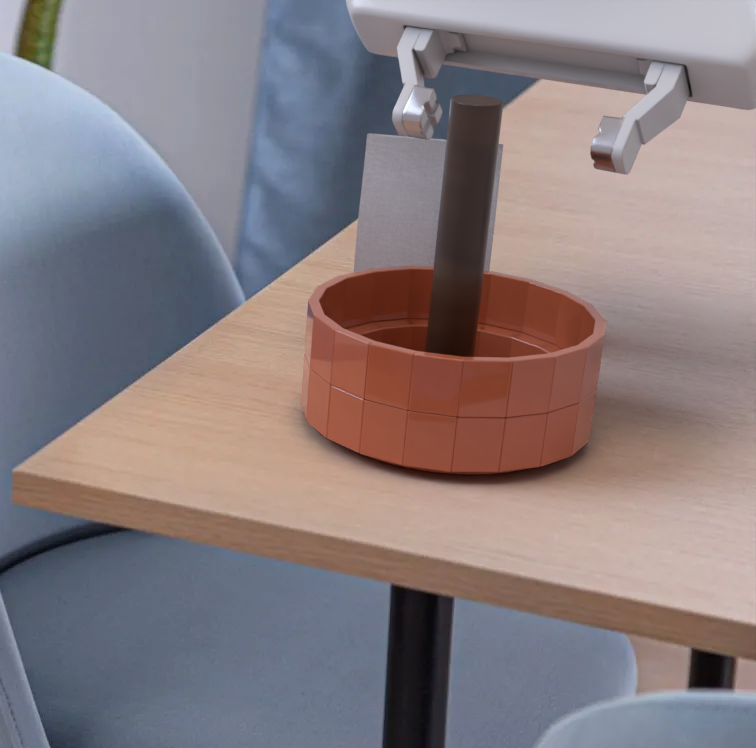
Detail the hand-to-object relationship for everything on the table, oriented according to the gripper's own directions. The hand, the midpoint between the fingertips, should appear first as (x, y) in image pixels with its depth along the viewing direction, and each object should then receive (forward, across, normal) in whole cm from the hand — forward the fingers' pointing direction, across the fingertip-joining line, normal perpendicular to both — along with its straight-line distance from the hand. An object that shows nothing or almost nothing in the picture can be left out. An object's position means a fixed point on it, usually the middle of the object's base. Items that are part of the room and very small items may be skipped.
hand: (505, 147), depth 77 cm
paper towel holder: (+10, 0, +6) cm, 12 cm away
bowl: (+11, 0, +6) cm, 13 cm away
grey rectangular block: (+3, -7, +14) cm, 16 cm away
